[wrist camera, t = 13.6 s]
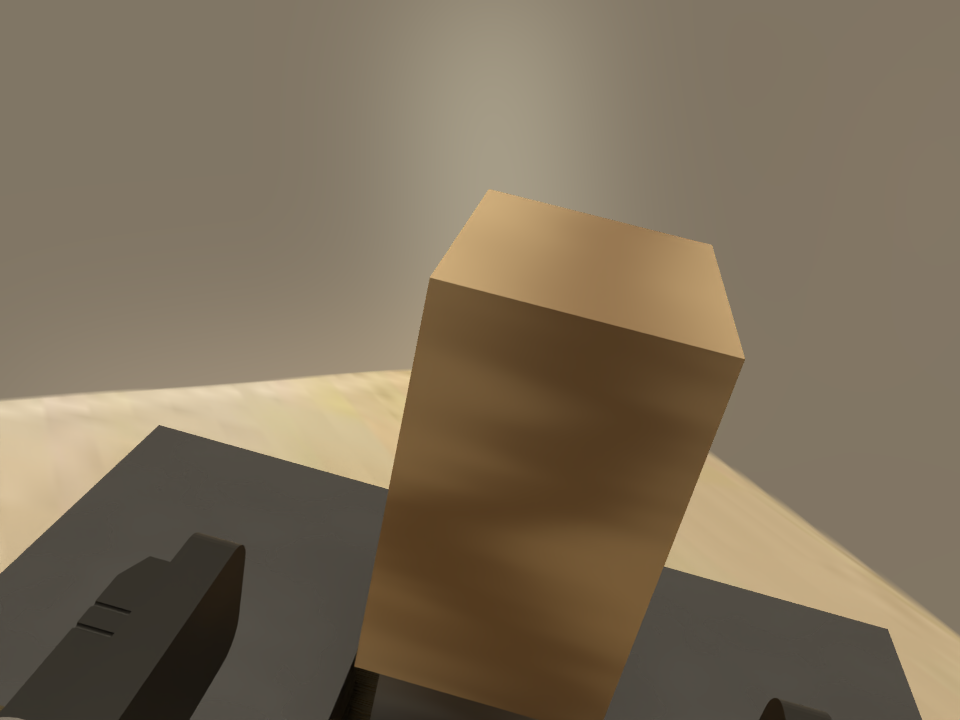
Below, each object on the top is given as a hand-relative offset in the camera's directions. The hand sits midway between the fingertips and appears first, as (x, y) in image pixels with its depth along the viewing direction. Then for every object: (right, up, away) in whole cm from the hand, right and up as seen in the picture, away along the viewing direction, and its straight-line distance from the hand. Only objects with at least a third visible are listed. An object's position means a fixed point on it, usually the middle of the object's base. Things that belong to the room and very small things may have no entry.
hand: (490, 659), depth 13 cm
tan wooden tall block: (-1, -5, +9) cm, 10 cm away
